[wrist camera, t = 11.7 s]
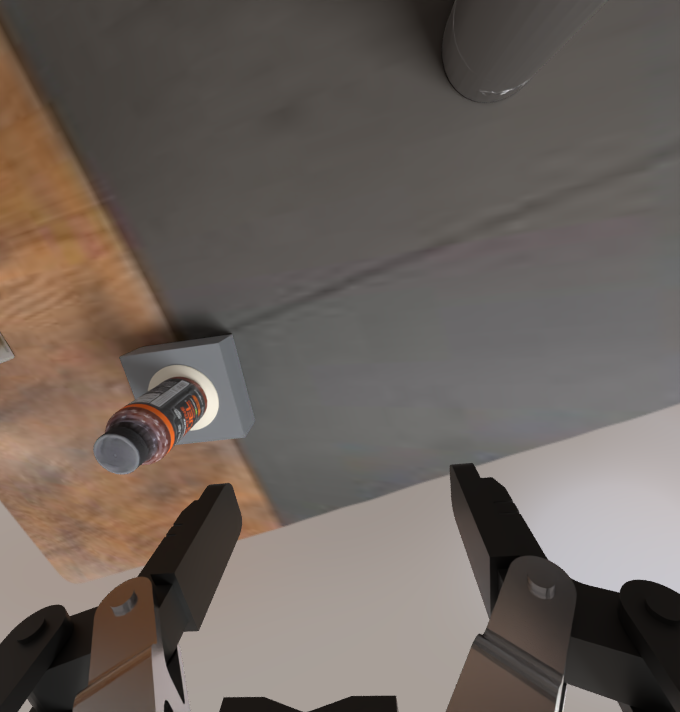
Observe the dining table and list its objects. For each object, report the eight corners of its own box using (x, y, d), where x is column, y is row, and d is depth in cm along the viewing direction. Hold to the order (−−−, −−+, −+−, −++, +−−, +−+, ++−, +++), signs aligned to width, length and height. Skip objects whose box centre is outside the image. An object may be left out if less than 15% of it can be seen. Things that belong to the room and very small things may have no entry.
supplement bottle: (213, 421, 39) (156, 486, 28) (165, 420, 39) (91, 485, 28) (205, 374, 37) (141, 425, 26) (155, 374, 37) (71, 424, 27)
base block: (141, 346, 41) (117, 357, 37) (232, 334, 40) (217, 343, 36) (171, 430, 44) (152, 448, 41) (255, 420, 43) (244, 438, 39)
